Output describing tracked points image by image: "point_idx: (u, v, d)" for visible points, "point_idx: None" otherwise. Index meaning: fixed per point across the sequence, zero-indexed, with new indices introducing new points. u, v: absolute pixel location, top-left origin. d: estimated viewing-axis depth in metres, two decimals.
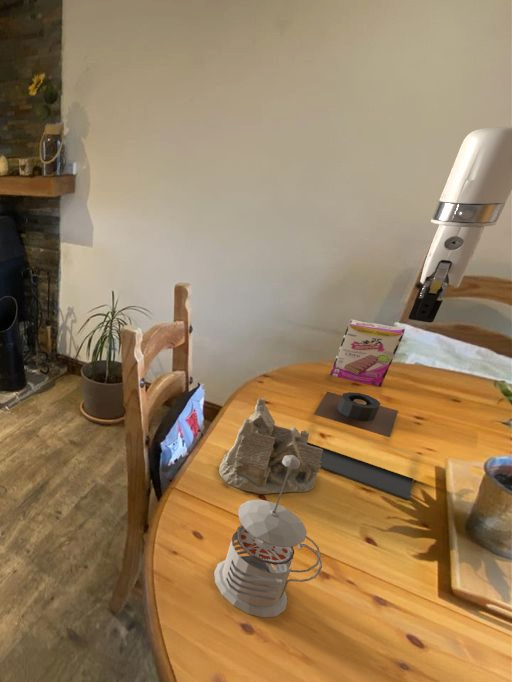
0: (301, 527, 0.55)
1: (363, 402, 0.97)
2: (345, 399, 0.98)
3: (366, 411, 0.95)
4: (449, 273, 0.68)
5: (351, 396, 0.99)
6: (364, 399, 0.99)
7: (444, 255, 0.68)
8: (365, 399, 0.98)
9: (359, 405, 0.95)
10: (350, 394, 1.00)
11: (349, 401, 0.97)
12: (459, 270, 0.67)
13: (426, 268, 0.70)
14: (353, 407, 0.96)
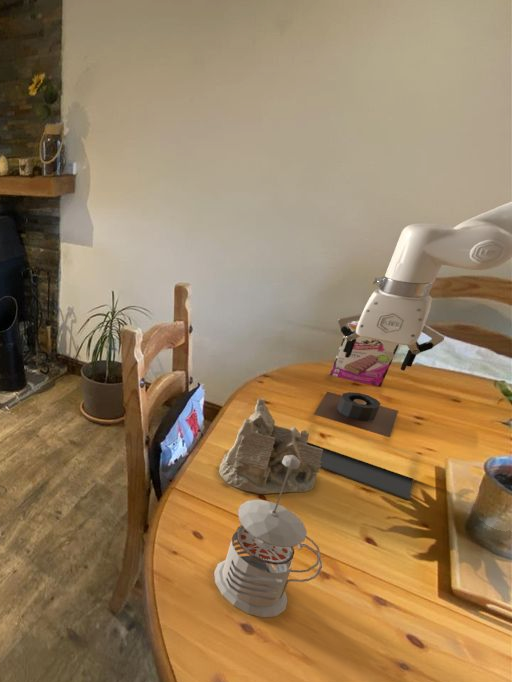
0: (301, 527, 0.55)
1: (363, 402, 0.97)
2: (345, 399, 0.98)
3: (366, 411, 0.95)
4: (358, 322, 0.92)
5: (351, 396, 0.99)
6: (364, 399, 0.99)
7: None
8: (365, 399, 0.98)
9: (359, 405, 0.95)
10: (350, 394, 1.00)
11: (349, 401, 0.97)
12: (359, 321, 0.91)
13: None
14: (353, 407, 0.96)
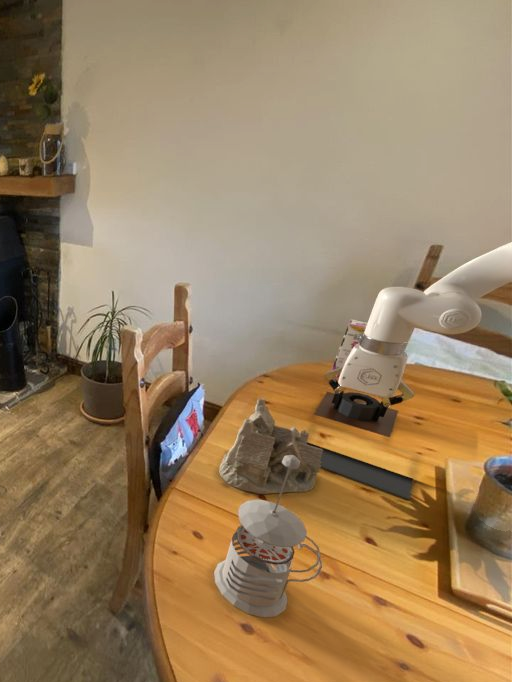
0: (301, 527, 0.55)
1: (363, 402, 0.97)
2: (345, 399, 0.98)
3: (366, 411, 0.95)
4: None
5: (351, 396, 0.99)
6: (364, 399, 0.99)
7: None
8: (365, 399, 0.98)
9: (359, 405, 0.95)
10: (350, 394, 1.00)
11: (349, 401, 0.97)
12: (341, 372, 0.97)
13: None
14: (353, 407, 0.96)
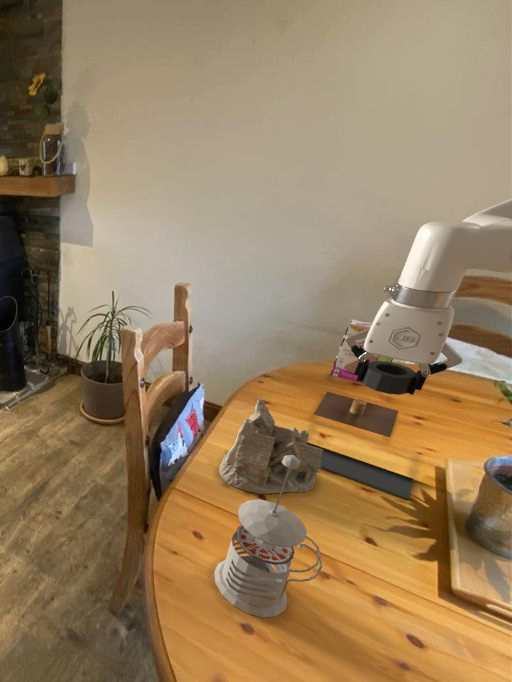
0: (301, 527, 0.55)
1: (363, 402, 0.97)
2: (372, 369, 0.79)
3: (399, 382, 0.76)
4: (366, 339, 0.79)
5: (379, 365, 0.81)
6: (395, 369, 0.80)
7: None
8: (396, 369, 0.80)
9: (390, 375, 0.77)
10: (377, 363, 0.81)
11: (377, 371, 0.78)
12: (367, 335, 0.78)
13: None
14: (382, 378, 0.77)
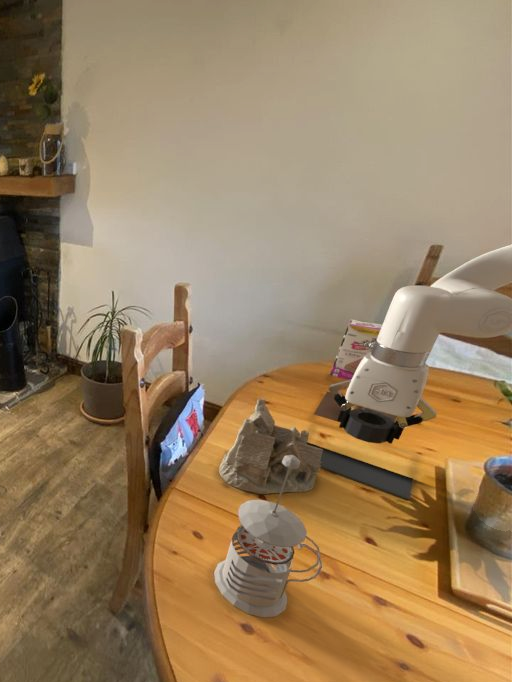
0: (301, 527, 0.55)
1: None
2: (353, 418, 0.83)
3: (378, 432, 0.80)
4: None
5: (360, 414, 0.85)
6: (375, 417, 0.84)
7: None
8: (376, 417, 0.84)
9: (370, 425, 0.81)
10: (359, 411, 0.85)
11: (358, 420, 0.83)
12: (348, 386, 0.82)
13: None
14: (363, 427, 0.82)
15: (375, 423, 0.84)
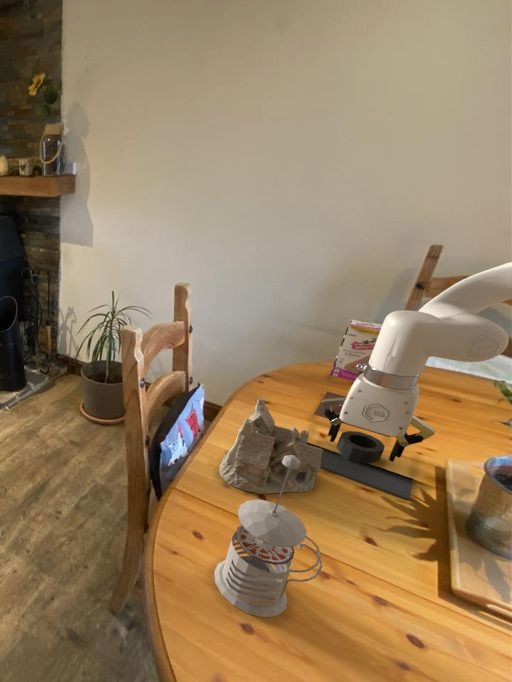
0: (301, 527, 0.55)
1: None
2: (344, 440, 0.86)
3: (368, 455, 0.83)
4: (342, 407, 0.85)
5: (351, 436, 0.88)
6: (366, 440, 0.87)
7: None
8: (367, 440, 0.87)
9: (360, 448, 0.84)
10: (350, 433, 0.88)
11: (349, 443, 0.85)
12: None
13: None
14: (353, 450, 0.84)
15: (366, 445, 0.87)
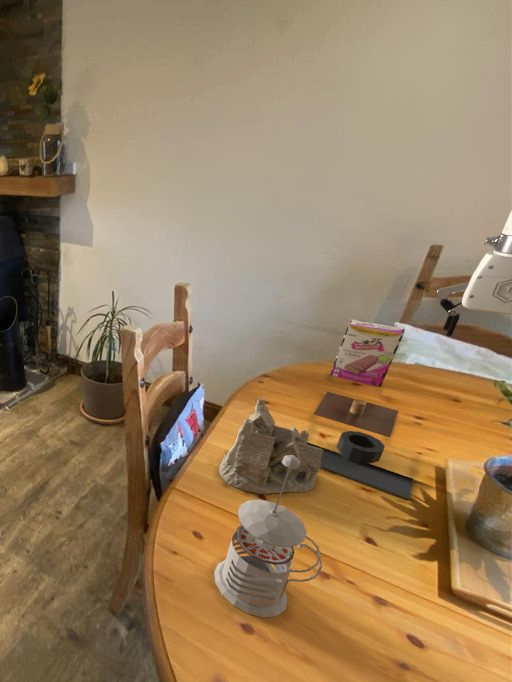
0: (301, 527, 0.55)
1: (363, 402, 0.97)
2: (344, 440, 0.86)
3: (368, 455, 0.83)
4: (464, 292, 0.76)
5: (351, 436, 0.88)
6: (366, 440, 0.87)
7: (472, 276, 0.76)
8: (367, 440, 0.87)
9: (360, 448, 0.84)
10: (350, 433, 0.88)
11: (349, 443, 0.85)
12: (466, 290, 0.75)
13: None
14: (353, 450, 0.84)
15: (366, 445, 0.87)
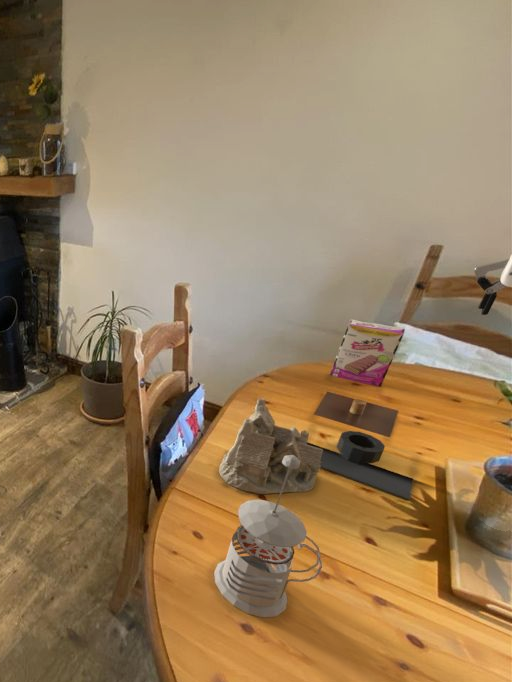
0: (301, 527, 0.55)
1: (363, 402, 0.97)
2: (344, 440, 0.86)
3: (368, 455, 0.83)
4: (503, 270, 0.76)
5: (351, 436, 0.88)
6: (366, 440, 0.87)
7: None
8: (367, 440, 0.87)
9: (360, 448, 0.84)
10: (350, 433, 0.88)
11: (349, 443, 0.85)
12: (506, 267, 0.75)
13: None
14: (353, 450, 0.84)
15: (366, 445, 0.87)
